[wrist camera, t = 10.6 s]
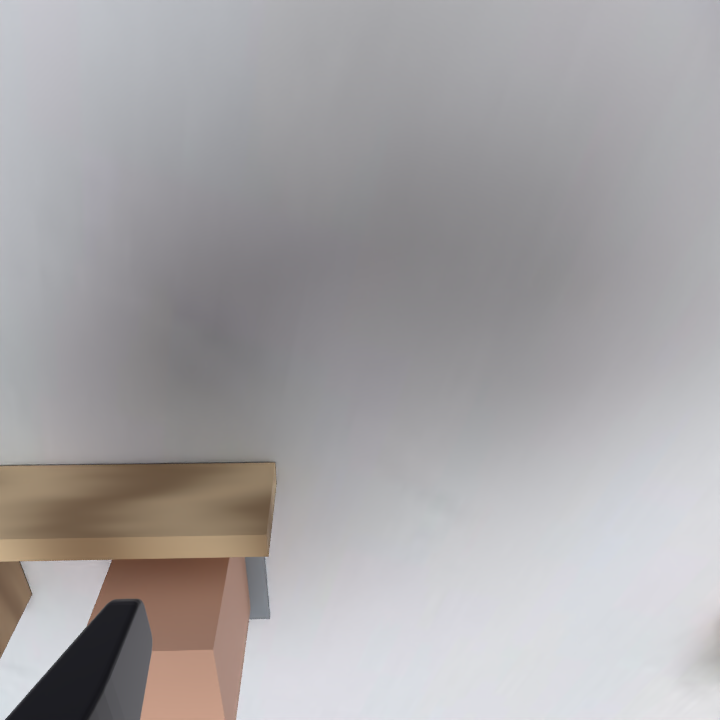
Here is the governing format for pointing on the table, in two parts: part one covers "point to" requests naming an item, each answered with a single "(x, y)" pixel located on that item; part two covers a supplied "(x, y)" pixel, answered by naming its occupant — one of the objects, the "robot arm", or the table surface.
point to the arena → (133, 520)
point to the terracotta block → (188, 631)
